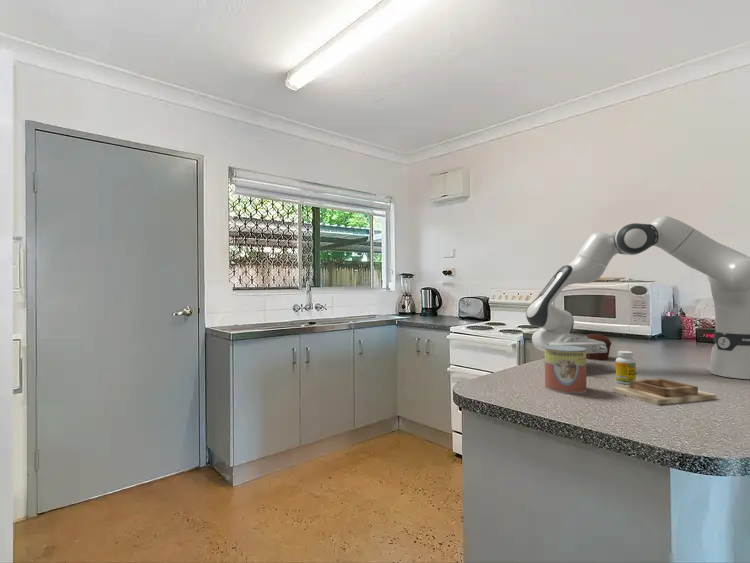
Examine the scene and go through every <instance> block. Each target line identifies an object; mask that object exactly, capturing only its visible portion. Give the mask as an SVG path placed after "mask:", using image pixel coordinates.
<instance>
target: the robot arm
mask: <svg viewBox="0 0 750 563" xmlns="http://www.w3.org/2000/svg"><path fill="white" fill-rule="evenodd" d="M652 247H657V248H659V249H661V250H663V251H664V252H666V253H667V254H669V255H670V256H672V257H673V258H675V259H676V260H678V261H679V262H682V263H683V264H684V265H686V266H687V267H689V268H691V269H693V270H696V271H698V272H700V273H702V274H704V275H706V276H707V280H708V282H709V284H710V291H711V295H712V300H713V305H714V317H715V318H714V321H715V324H714V326H715V328H714V330H715V331H714V332H713V342H714V345H713V346H712V348H711V351H710V352H711V354H710V355H711V356H710V362H709V363H710V364H709V366H707V371H708V372H709V373H710V374H712V375H715V376H718V377H719V376H721V377H725V378H726V377H727V378H733V379H741V380H742V379H743V380H750V256H748V255H746V254H744V253H743V252H740V251H738V250H736V249H734V248H732V247H729V246H727V245H725V244H722V243H720V242H719V241H717V240H714V239H713V238H711V237H709V236H708V235H706V234H704V233H702V232H701V231H699V230H697V229H696V228H694V227H693V226H691V225H689V224H688V223H685V222H683V221H681V220H679V219H677V218H674V217H671V216H669V215H662V216H659V217H657V218H655V219H654V220H652V222H650V224H649V223H638V222H637V223H636V222H634V223H629V224H625V225H623V226H622V227H620V228H619V229H618V230H617V231H615V232H613V233H612V234H610V233H607V232H602V231H598V232H597V231H596V232H594V233H591V235H590V236H589V237H588V238H587V239H586V241H584V243H583V244H582V246H581V248H580V249H579V250H578V252H577V254H576V256H575V257H574V258H573V259H572V261H570V262H569V263H568V264H566V265H563V266H561V267H560V268H559V269H558V270H557V271H556V272H555V274H554V275H553V276H552V278H550V280H549V282H547V284H546V285H545V287H544V288H542V291H541V292H540V293H539V294H538V296H537V297H536V298H535V299H534V300H532V302H531V303H529V305H528V306H527V307H526V311H525V317H526V320H527V322H528V323H529V325H531V326H532V327H536V328H539V329H538V330H536V331H534V332H533V334H532V336H531V342H532V344H533V346H534V347H535V348H536V349H537V350H538V351H541V352H544V353H545V348H544V347H545V346H549V345H568V346H578V347H583V348H586V354H588V353H607V348H606V344H605V343H604V342H602V341H598V340H594V339H588V337H586V335H576V334H572V331H573V330H574V322H575V321H574V316H573V314H572V313H571V312H570V311H567V310H565V309H563V308H560V307H556V306H555V305H552V303H554V301H555V299H557V297H558V296H559V295H560V293H561V292H562V290H564V288H566V287H567V286H570V285H576V284H578V285H579V284H582V285H583V284H591V283H594V282H595V281H597V280H599V279H600V278H601V277H602V275H603V274H604V272H605V271H606V269H607V267H608V266H609V264H610V262H611V260H612V259H613V257H614V256H616V255H617V254H621V255H626V256H627V255H628V256H635V255H639V254H641V253H643V252H645V251H646V250H648V249H650V248H652Z"/></svg>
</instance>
